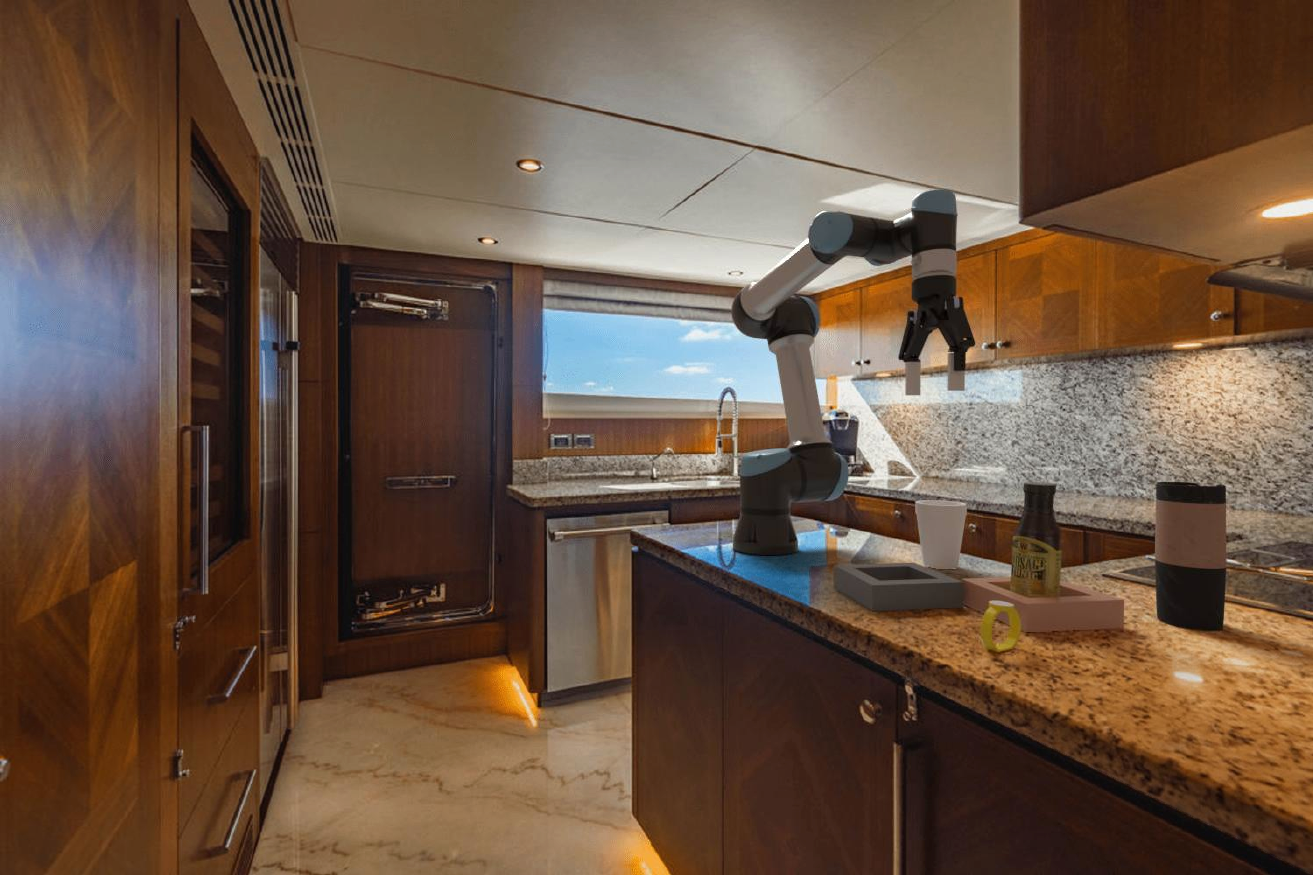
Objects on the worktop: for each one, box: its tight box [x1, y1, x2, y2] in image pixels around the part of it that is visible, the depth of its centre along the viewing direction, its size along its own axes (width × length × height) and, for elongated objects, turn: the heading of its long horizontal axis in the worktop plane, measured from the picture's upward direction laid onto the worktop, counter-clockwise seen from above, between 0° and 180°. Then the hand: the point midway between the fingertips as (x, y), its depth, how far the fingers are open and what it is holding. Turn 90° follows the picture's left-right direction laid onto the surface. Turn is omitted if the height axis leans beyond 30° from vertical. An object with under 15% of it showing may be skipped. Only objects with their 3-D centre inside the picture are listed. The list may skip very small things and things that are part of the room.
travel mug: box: [1154, 481, 1227, 632], centre depth 85 cm, size 8×8×20 cm
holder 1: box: [833, 562, 964, 612], centre depth 99 cm, size 14×15×4 cm
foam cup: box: [914, 499, 968, 570], centre depth 121 cm, size 10×9×13 cm
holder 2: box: [960, 576, 1125, 633], centre depth 89 cm, size 14×15×4 cm
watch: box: [979, 601, 1022, 653], centre depth 75 cm, size 6×3×6 cm, turn 115°
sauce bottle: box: [1010, 481, 1063, 598], centre depth 89 cm, size 6×6×20 cm
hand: (933, 393), depth 110 cm, fingers open, 13 cm apart
